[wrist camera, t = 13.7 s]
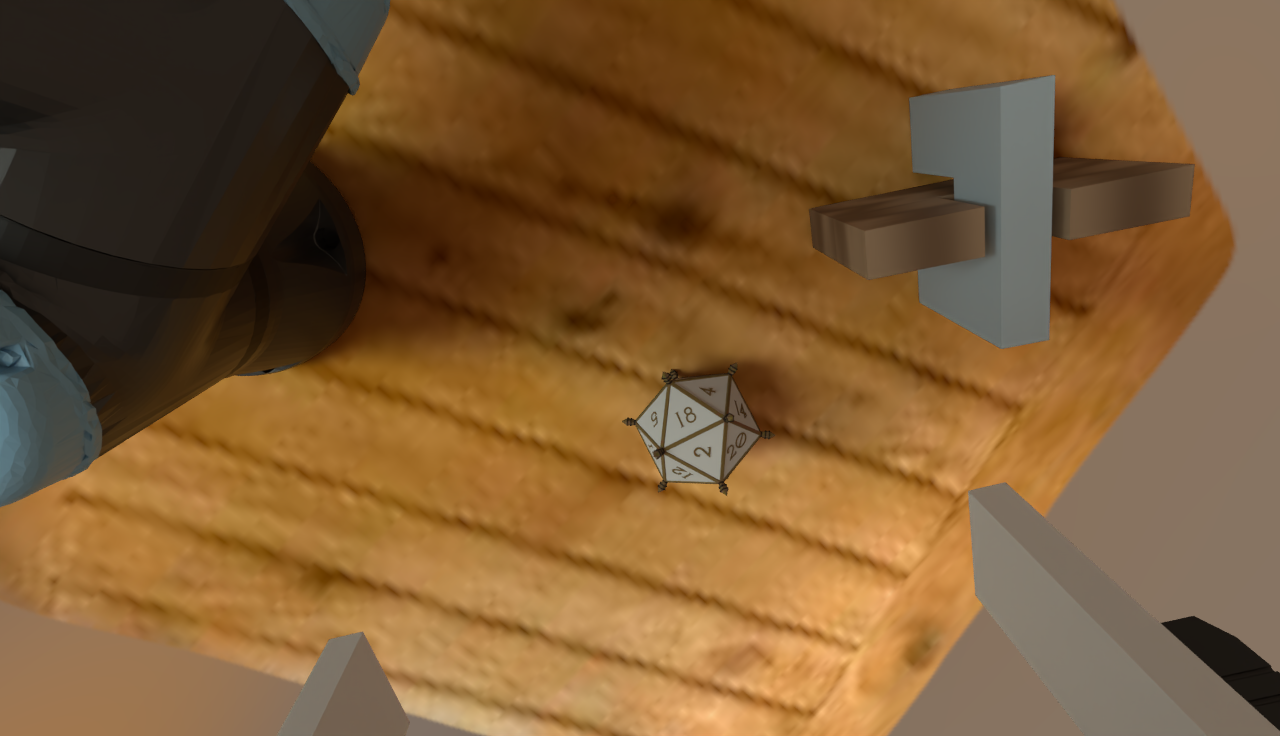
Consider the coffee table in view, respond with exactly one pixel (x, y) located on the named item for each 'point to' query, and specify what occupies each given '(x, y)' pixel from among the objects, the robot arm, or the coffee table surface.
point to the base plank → (955, 231)
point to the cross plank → (993, 203)
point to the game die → (698, 429)
